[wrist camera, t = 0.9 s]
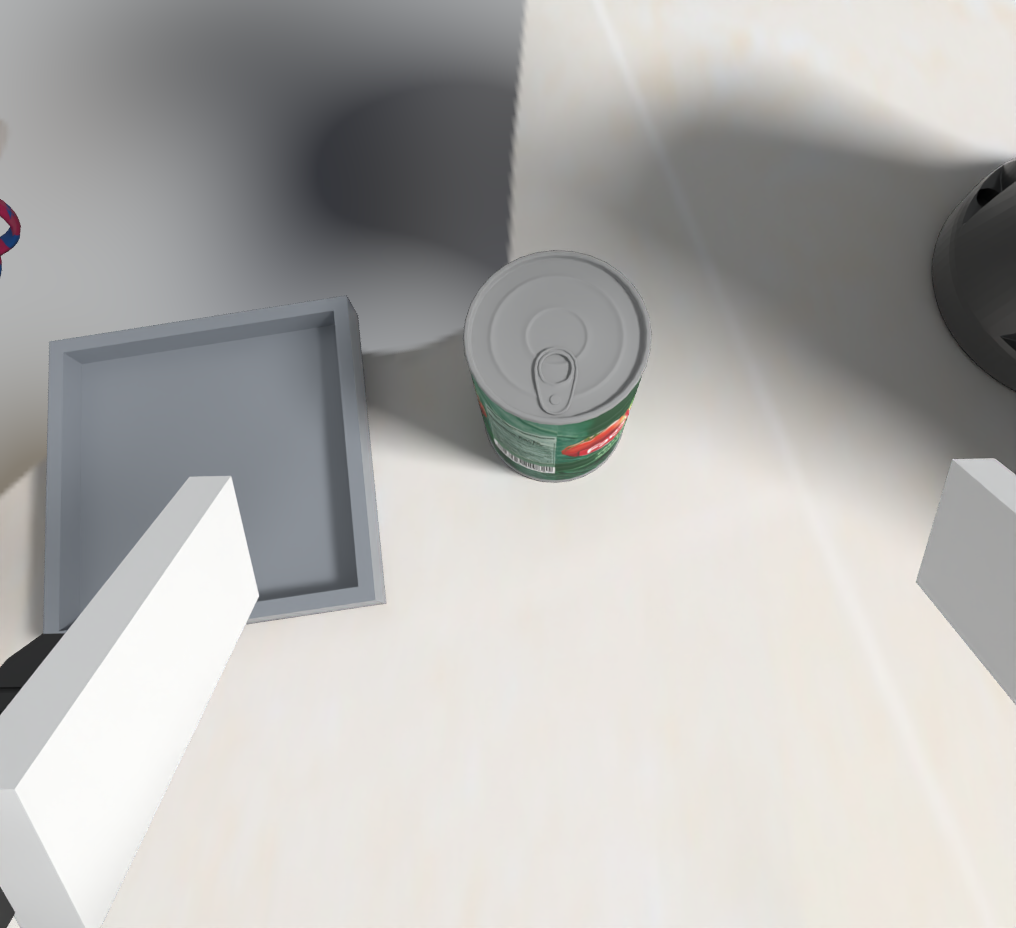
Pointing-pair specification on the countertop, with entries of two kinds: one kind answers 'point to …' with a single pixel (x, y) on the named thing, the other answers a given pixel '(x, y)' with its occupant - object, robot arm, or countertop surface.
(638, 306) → the canned tomato
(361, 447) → the tray
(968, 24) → the countertop surface
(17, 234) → the mug
